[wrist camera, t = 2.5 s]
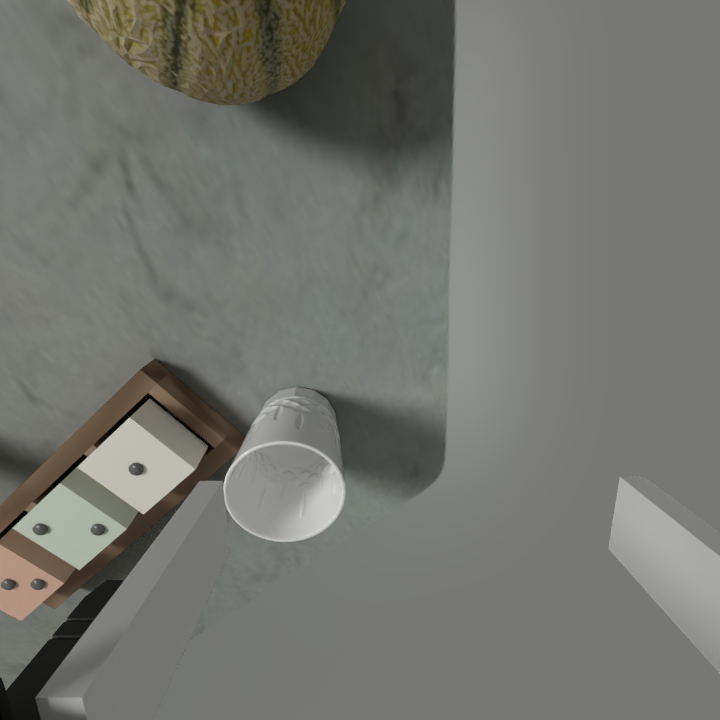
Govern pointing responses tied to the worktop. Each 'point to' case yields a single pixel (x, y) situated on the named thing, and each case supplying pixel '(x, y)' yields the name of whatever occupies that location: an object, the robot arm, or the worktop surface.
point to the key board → (97, 430)
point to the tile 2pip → (77, 519)
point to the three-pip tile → (28, 574)
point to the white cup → (288, 469)
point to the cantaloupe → (216, 42)
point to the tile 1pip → (145, 457)
